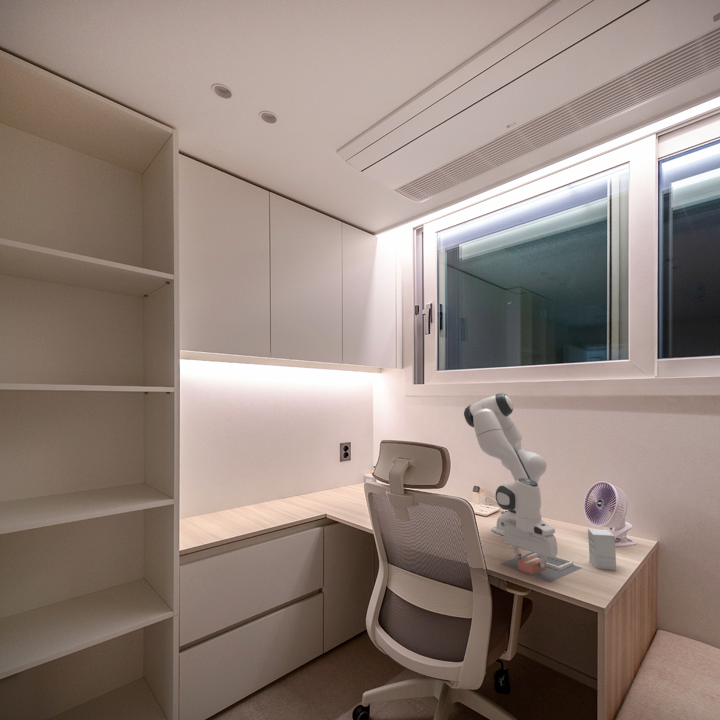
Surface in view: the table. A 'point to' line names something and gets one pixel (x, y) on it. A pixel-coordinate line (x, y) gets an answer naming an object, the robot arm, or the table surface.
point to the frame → (568, 563)
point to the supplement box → (602, 549)
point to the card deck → (530, 565)
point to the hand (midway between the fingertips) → (529, 562)
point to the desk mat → (547, 573)
